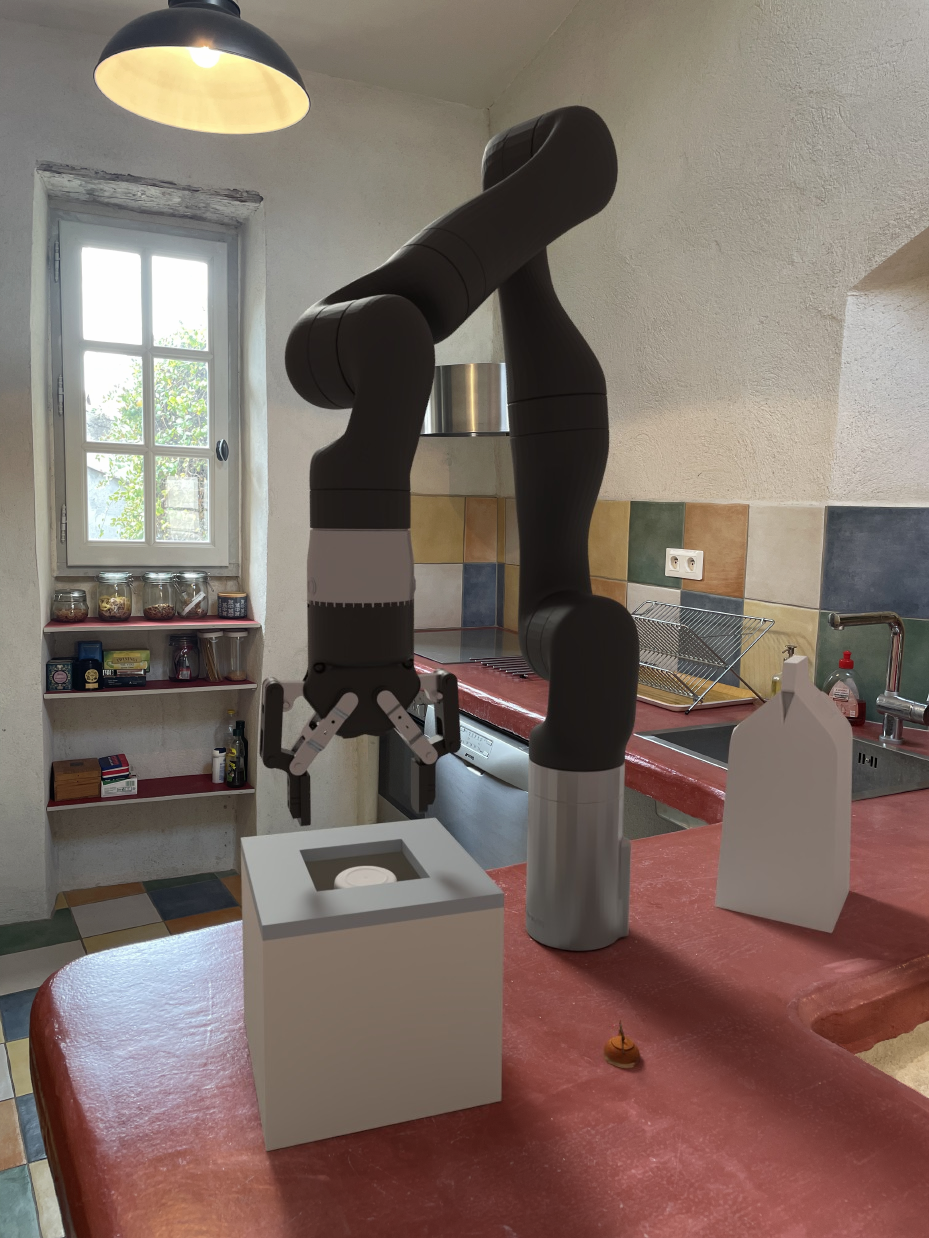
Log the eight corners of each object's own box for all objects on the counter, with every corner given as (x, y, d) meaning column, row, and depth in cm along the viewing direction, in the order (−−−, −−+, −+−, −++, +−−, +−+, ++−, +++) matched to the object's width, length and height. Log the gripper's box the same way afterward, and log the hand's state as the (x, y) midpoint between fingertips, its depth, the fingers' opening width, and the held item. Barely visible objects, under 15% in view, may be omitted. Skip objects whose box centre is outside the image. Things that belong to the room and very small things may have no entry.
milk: (742, 868, 103) (752, 647, 100) (849, 890, 97) (863, 656, 95) (714, 906, 93) (724, 661, 90) (831, 933, 87) (846, 672, 84)
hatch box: (434, 986, 76) (435, 817, 75) (501, 1100, 61) (504, 892, 60) (244, 1017, 71) (240, 837, 70) (265, 1151, 56) (262, 925, 55)
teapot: (594, 1057, 67) (595, 1024, 66) (618, 1041, 69) (619, 1009, 68) (626, 1075, 65) (627, 1041, 64) (649, 1058, 67) (651, 1025, 66)
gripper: (441, 588, 68) (440, 792, 70) (252, 591, 64) (256, 810, 66) (473, 596, 61) (472, 823, 63) (263, 600, 57) (268, 845, 58)
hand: (362, 816), depth 64 cm, fingers open, 8 cm apart
